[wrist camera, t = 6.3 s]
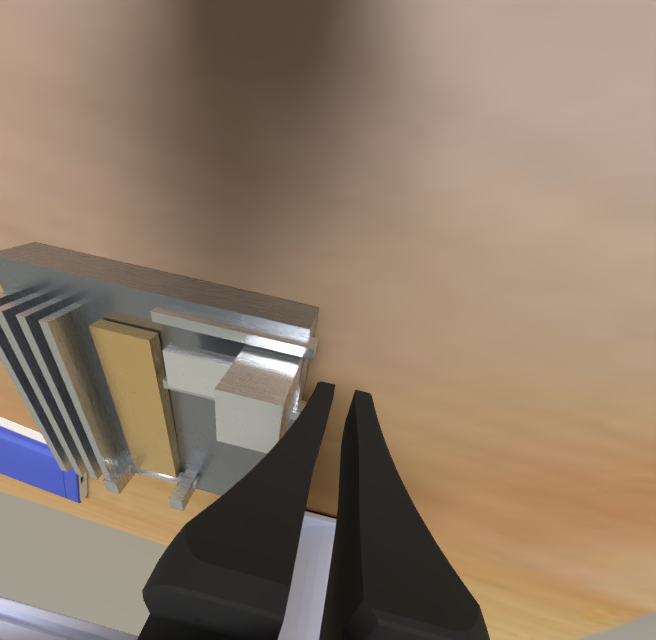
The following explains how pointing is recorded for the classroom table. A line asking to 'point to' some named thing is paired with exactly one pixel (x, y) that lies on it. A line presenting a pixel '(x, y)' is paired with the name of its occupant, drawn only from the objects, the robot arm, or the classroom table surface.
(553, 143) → the classroom table surface
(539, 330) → the classroom table surface
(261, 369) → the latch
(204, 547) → the robot arm
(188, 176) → the classroom table surface
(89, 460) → the grey slotted fixture base
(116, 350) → the tan rectangular plate
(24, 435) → the hard drive
